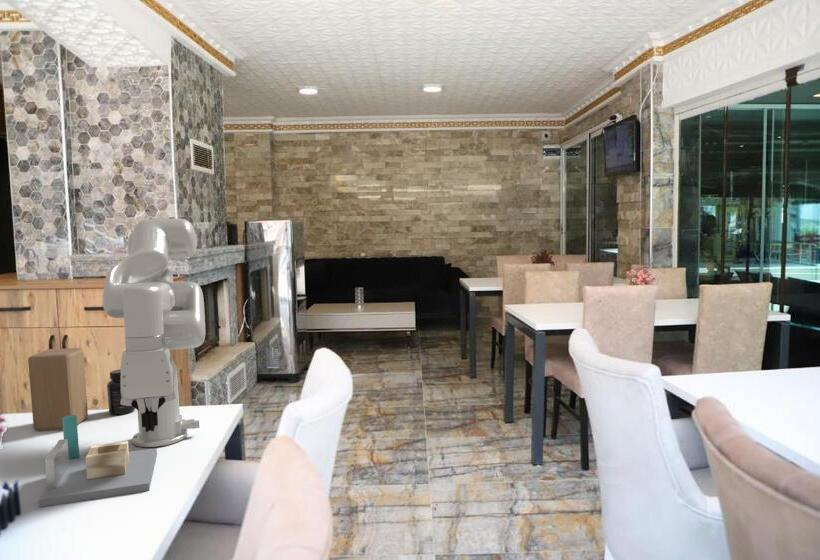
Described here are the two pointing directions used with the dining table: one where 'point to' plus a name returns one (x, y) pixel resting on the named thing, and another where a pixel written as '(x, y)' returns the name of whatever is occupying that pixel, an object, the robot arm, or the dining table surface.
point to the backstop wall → (57, 464)
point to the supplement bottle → (116, 395)
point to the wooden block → (57, 387)
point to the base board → (102, 480)
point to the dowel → (71, 435)
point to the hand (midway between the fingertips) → (150, 429)
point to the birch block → (107, 460)
